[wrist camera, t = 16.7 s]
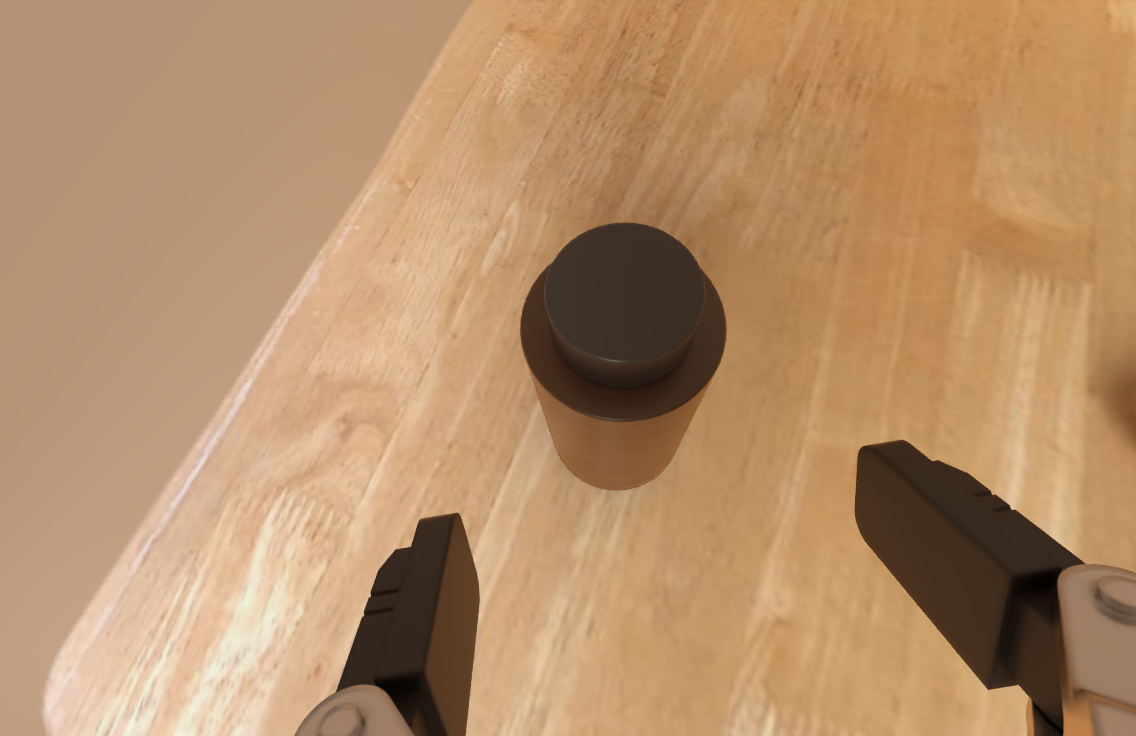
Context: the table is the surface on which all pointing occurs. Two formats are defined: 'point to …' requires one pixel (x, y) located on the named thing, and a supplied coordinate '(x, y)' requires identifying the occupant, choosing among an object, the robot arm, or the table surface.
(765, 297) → the table surface
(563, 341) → the pepper mill
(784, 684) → the table surface
